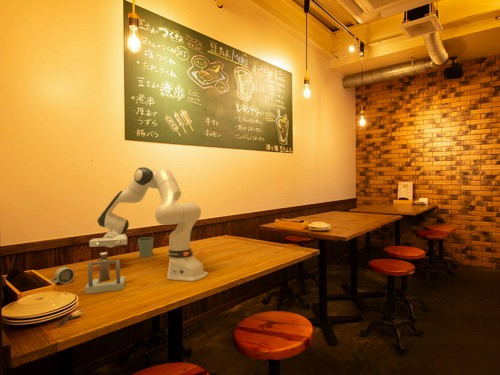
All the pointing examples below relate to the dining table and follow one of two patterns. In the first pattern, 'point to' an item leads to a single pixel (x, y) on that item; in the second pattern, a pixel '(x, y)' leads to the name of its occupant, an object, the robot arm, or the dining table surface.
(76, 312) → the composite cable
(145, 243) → the grey tapered bin
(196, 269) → the robot arm
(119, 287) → the grey frame stand
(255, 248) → the dining table surface
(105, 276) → the sake bottle
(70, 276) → the ceramic mug
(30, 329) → the dining table surface
